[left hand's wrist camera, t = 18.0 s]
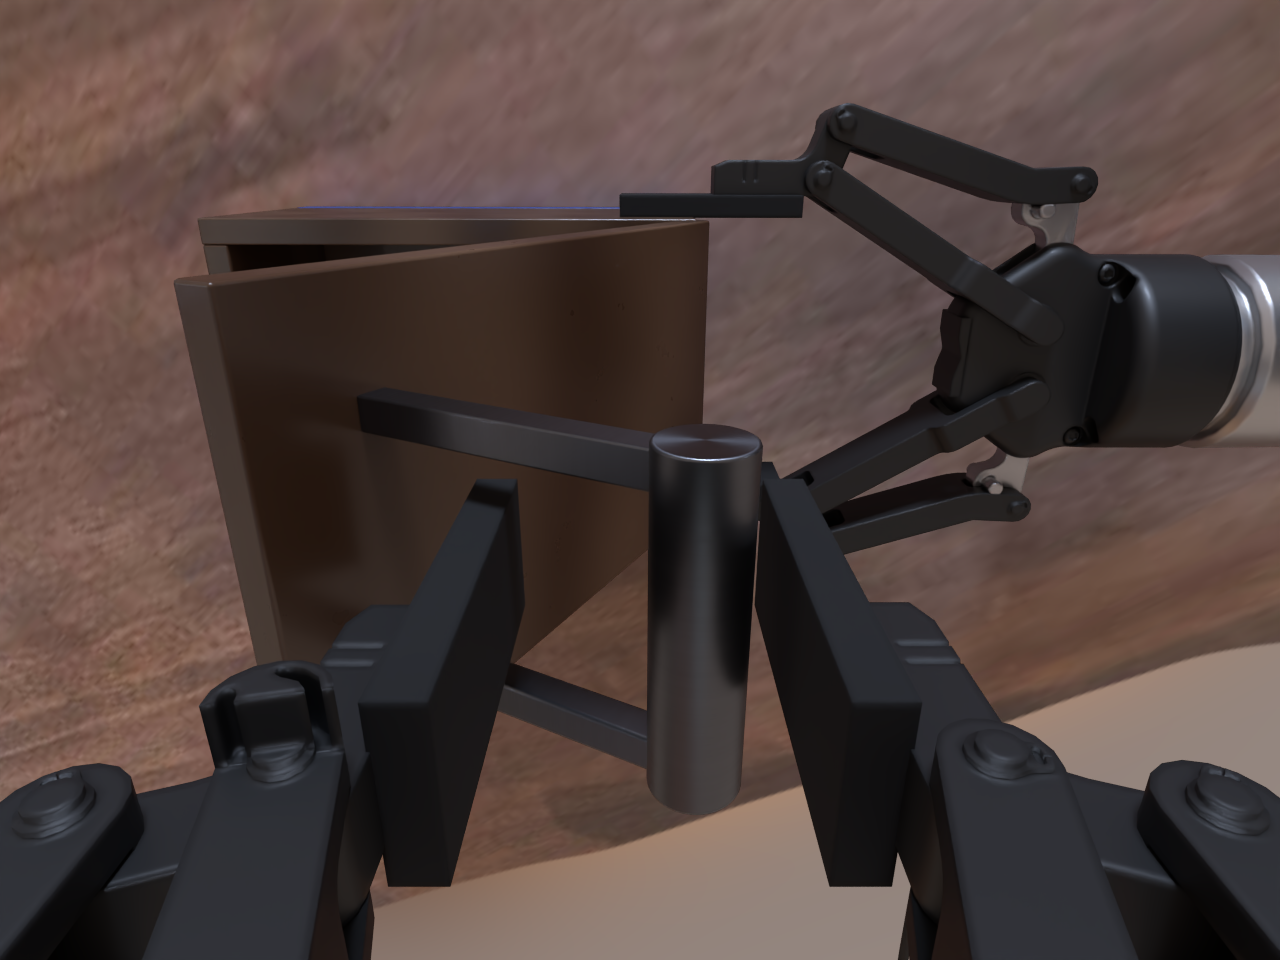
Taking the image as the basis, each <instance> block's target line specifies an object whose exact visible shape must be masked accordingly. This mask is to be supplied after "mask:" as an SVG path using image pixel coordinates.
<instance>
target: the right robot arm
mask: <svg viewBox="0 0 1280 960" xmlns="http://www.w3.org/2000/svg"><path fill="white" fill-rule="evenodd" d="M849 152H852V153H854V154H857V155H860V156H863V157H866V158H869V159H871V160H874V161H877V162H880V163H883V164H886V165H888V166H891V167H894V168H897V169H900V170H903V171H906V172H908V173H911V174H914V175H917V176H920V177H923V178H925V179H928V180H931V181H934V182H937V183H940V184H942V185H945V186H948V187H951V188H954V189H957V190H960V191H962V192H965V193H968V194H971V195H974V196H977V197H980V198H983V199H987V200H990V201H997V202H1006V203H1012V206H1011V215H1012V218H1013V220H1014V221H1015V222H1016V223H1018V224H1020V225H1024V226H1028V227H1029V228H1031V229H1032V231H1033V232H1034V235H1035V243H1034V244H1032V245H1030V246H1028V247H1027V248H1025V249H1024V250H1022V251H1021V252H1019V253H1018V254H1016V255H1015V256H1013V257H1012V258H1010V259H1009V260H1007V261H1006V262H1004V263H1003V264H1001V265H1000V266H998V267H997V268H995V269H994V270H991V269H990V268H988V267H987V266H985V265H984V264H982V263H980V262H978V261H976V260H974V259H972V258H971V257H969V256H967V255H966V254H964V253H963V252H962V251H960V250H959V249H957V248H956V247H954V246H953V245H951V244H950V243H949V242H947V241H946V240H944V239H943V238H941V237H940V236H938V235H937V234H936V233H934V232H933V231H931V230H930V229H928V228H927V227H925V226H924V225H923V224H921V223H920V222H918V221H917V220H915V219H914V218H912V217H911V216H910V215H908V214H907V213H905V212H904V211H902V210H901V209H899V208H898V207H896V206H895V205H894V204H892V203H891V202H889V201H888V200H886V199H885V198H883V197H882V196H881V195H879V194H878V193H876V192H875V191H873V190H872V189H870V188H869V187H868V186H866V185H865V184H863V183H862V182H860V181H859V180H857V179H856V178H855V177H853V176H852V175H850V174H849V173H847V172H846V171H844V170H843V166H844V164H845V162H846V159H847V157H848V155H849ZM1097 186H1098V177H1097V175H1096V172H1095V171H1094V170H1092V169H1091V168H1089V167H1044V168H1031V167H1028V166H1026V165H1023V164H1020V163H1017V162H1015V161H1012V160H1009V159H1006V158H1003V157H1001V156H998V155H995V154H992V153H989V152H987V151H984V150H981V149H978V148H976V147H973V146H970V145H967V144H964V143H962V142H959V141H956V140H953V139H950V138H948V137H945V136H942V135H939V134H937V133H934V132H931V131H928V130H925V129H923V128H920V127H917V126H914V125H912V124H909V123H906V122H903V121H900V120H898V119H895V118H892V117H889V116H886V115H884V114H881V113H878V112H875V111H873V110H870V109H867V108H864V107H861V106H859V105H856V104H851V103H846V104H843V105H839V106H836V107H833V108H831V109H828V110H826V111H824V112H823V113H822V114H821V115H820V116H819V118H818V119H817V121H816V126H815V132H814V134H813V137H812V139H811V142H810V144H809V146H808V148H807V150H806V151H805V152H804V154H803V155H801V156H800V157H799V158H797V159H794V160H727V161H723V162H721V163H719V164H716V165H714V166H712V167H711V193H622V194H620V217H693V218H802V212H803V198H804V196H806V197H808V198H809V199H811V200H812V201H813V202H815V203H816V204H818V205H819V206H821V207H822V208H824V209H825V210H827V211H828V212H830V213H831V214H833V215H834V216H836V217H837V218H839V219H840V220H842V221H843V222H845V223H846V224H848V225H849V226H850V227H852V228H853V229H855V230H856V231H858V232H859V233H861V234H862V235H864V236H865V237H867V238H868V239H870V240H871V241H873V242H874V243H876V244H877V245H879V246H880V247H882V248H883V249H885V250H886V251H887V252H889V253H890V254H892V255H893V256H895V257H896V258H898V259H899V260H901V261H902V262H904V263H905V264H907V265H908V266H910V267H911V268H913V269H914V270H916V271H917V272H919V273H920V274H922V275H923V276H924V277H926V278H927V279H928V280H929V281H930V282H932V283H933V284H934V285H936V286H937V287H939V288H940V289H942V290H943V291H945V292H946V293H948V294H949V295H951V296H952V297H954V299H953V301H952V302H951V304H950V306H949V308H948V309H943V311H942V318H941V325H940V332H941V340H942V350H941V352H940V355H939V357H938V359H937V362H936V364H935V367H934V374H933V381H932V385H934V386H935V387H936V388H937V390H936V391H934V392H932V393H931V394H929V395H927V396H925V397H923V398H921V399H919V400H918V401H916V402H914V403H913V404H912V405H911V407H910V409H909V410H908V411H907V412H905V413H903V414H901V415H900V416H898V417H896V418H894V419H892V420H890V421H888V422H887V423H885V424H883V425H881V426H879V427H877V428H875V429H874V430H872V431H870V432H868V433H866V434H864V435H862V436H861V437H859V438H857V439H855V440H853V441H851V442H849V443H847V444H846V445H844V446H842V447H840V448H838V449H836V450H834V451H833V452H831V453H829V454H827V455H825V456H823V457H821V458H820V459H818V460H816V461H814V462H812V463H810V464H808V465H807V466H805V467H803V468H801V469H799V470H797V471H795V472H794V473H792V474H790V475H788V476H786V477H784V478H782V479H803V480H804V482H805V484H806V485H807V487H808V489H809V491H810V493H811V495H812V497H813V499H814V500H815V502H816V504H817V506H818V508H819V510H820V512H821V513H822V515H823V517H824V519H825V521H826V523H827V525H828V527H829V528H830V530H831V532H832V534H833V536H834V538H835V540H836V542H837V543H838V545H839V547H840V549H841V551H842V553H843V555H844V554H848V553H852V552H855V551H859V550H863V549H867V548H870V547H874V546H878V545H881V544H885V543H889V542H893V541H896V540H900V539H904V538H907V537H911V536H915V535H919V534H922V533H926V532H930V531H934V530H937V529H941V528H945V527H948V526H952V525H956V524H960V523H963V522H967V521H971V520H987V521H1010V522H1014V521H1019V520H1021V519H1023V518H1025V517H1026V516H1027V515H1028V513H1029V511H1030V509H1031V503H1030V501H1029V499H1028V498H1026V497H1025V496H1024V495H1023V494H1022V493H1021V491H1022V487H1023V483H1024V478H1025V474H1026V470H1027V466H1028V462H1029V458H1030V457H1033V456H1036V455H1038V454H1040V453H1042V452H1044V451H1047V450H1049V449H1052V448H1056V447H1062V446H1069V447H1162V448H1165V447H1172V446H1176V445H1179V446H1184V447H1190V448H1242V447H1280V255H1208V256H1205V257H1202V258H1200V257H1198V256H1194V255H1186V254H1089V253H1087V252H1085V251H1083V250H1082V249H1080V248H1079V247H1077V246H1076V245H1073V241H1074V234H1075V228H1076V222H1077V215H1078V209H1079V203H1080V202H1084V201H1086V200H1088V199H1089V198H1091V196H1092V195H1093V194H1094V193H1095V191H1096V188H1097ZM983 436H984V437H985V438H986V439H988V440H989V441H990V442H992V443H993V444H994V445H995V446H997V450H996V452H995V454H994V455H993V456H992V457H991V458H990V459H988V460H986V461H982V462H977V463H971V464H969V465H968V467H967V473H951V474H945V475H940V476H936V477H932V478H928V479H925V480H921V481H918V482H914V483H910V484H907V485H903V486H900V487H896V488H892V489H889V490H885V491H881V492H878V493H874V494H871V495H867V496H863V497H860V498H856V499H853V500H850V499H852V498H853V497H855V496H857V495H859V494H861V493H863V492H865V491H867V490H869V489H871V488H873V487H875V486H876V485H878V484H880V483H882V482H884V481H886V480H888V479H890V478H892V477H894V476H896V475H898V474H899V473H901V472H903V471H905V470H907V469H909V468H911V467H913V466H915V465H917V464H919V463H921V462H922V461H924V460H926V459H928V458H930V457H932V456H934V455H936V454H938V453H942V452H945V453H949V452H953V451H956V450H958V449H960V448H962V447H964V446H966V445H968V444H970V443H972V442H974V441H976V440H978V439H979V438H981V437H983ZM763 479H780V478H779V476H778V474H777V472H776V469H775V467H774V465H773V463H772V462H762V466H761V481H760V496H759V512H758V521H760V513H761V498H762V482H763ZM848 500H849V501H848Z"/></svg>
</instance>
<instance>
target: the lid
mask: <svg viewBox="0 0 1280 960" xmlns="http://www.w3.org/2000/svg"><path fill="white" fill-rule="evenodd" d="M708 244H709V221H704V220H682V221H673V222H664V223H656V224H647V225H638V226H630V227H621V228H612V229H603V230H595V231H586V232H577V233H568V234H560V235H551V236H542V237H533V238H525V239H516V240H507V241H499V242H490V243H481V244H472V245H464V246H455V247H446V248H437V249H429V250H420V251H411V252H402V253H394V254H385V255H376V256H368V257H359V258H350V259H341V260H333V261H324V262H315V263H306V264H298V265H289V266H280V267H271V268H263V269H254V270H245V271H237V272H228V273H219V274H210V275H202V276H193V277H184V278H178V279H176V280H174V287H175V292H176V296H177V301H178V305H179V310H180V315H181V319H182V324H183V328H184V333H185V337H186V342H187V347H188V351H189V356H190V360H191V365H192V369H193V374H194V379H195V383H196V388H197V392H198V397H199V401H200V406H201V411H202V415H203V420H204V424H205V429H206V434H207V438H208V443H209V447H210V452H211V456H212V461H213V466H214V470H215V475H216V479H217V484H218V488H219V493H220V498H221V502H222V507H223V511H224V516H225V520H226V525H227V530H228V534H229V539H230V543H231V548H232V552H233V557H234V562H235V566H236V571H237V575H238V580H239V585H240V589H241V594H242V598H243V603H244V607H245V612H246V617H247V621H248V626H249V630H250V635H251V639H252V644H253V649H254V653H255V658H256V662H257V666H258V665H263V664H267V663H272V662H276V661H292V660H303V661H307V662H311V663H315V664H319V665H320V662H321V660H322V659H323V657H324V656H325V654H326V652H327V651H328V649H331V648H332V643H333V642H334V640H335V639H336V637H337V636H338V634H339V633H340V631H341V630H342V628H343V627H344V625H345V623H347V622H348V621H349V620H351V619H352V618H353V617H355V616H356V615H358V614H359V613H360V612H362V611H363V610H365V609H366V608H367V607H369V606H370V605H410V603H411V601H412V600H413V598H414V596H415V594H416V592H417V590H418V588H419V586H420V585H421V583H422V581H423V579H424V577H425V575H426V573H427V571H428V570H429V568H430V566H431V564H432V562H433V560H434V558H435V557H436V555H437V553H438V551H439V549H440V547H441V545H442V543H443V542H444V540H445V538H446V536H447V534H448V532H449V530H450V528H451V527H452V525H453V523H454V521H455V519H456V517H457V515H458V513H459V512H460V510H461V508H462V506H463V504H464V502H465V500H466V499H467V497H468V495H469V493H470V491H471V489H472V487H473V485H474V484H475V482H476V480H477V479H517V482H518V498H519V513H520V529H521V545H522V560H523V576H524V592H525V608H524V612H523V616H522V619H521V623H520V627H519V631H518V634H517V638H516V642H515V646H514V649H513V653H512V657H511V661H510V664H509V668H508V672H507V676H506V680H505V683H504V687H503V691H502V695H501V698H500V702H499V706H498V710H497V711H499V712H502V713H504V714H507V715H510V716H512V717H515V718H517V719H520V720H522V721H525V722H527V723H530V724H533V725H535V726H538V727H540V728H543V729H545V730H548V731H550V732H553V733H556V734H558V735H561V736H563V737H566V738H568V739H571V740H573V741H576V742H579V743H581V744H584V745H586V746H589V747H591V748H594V749H596V750H599V751H602V752H604V753H607V754H609V755H612V756H614V757H617V758H619V759H622V760H625V761H627V762H630V763H632V764H635V765H637V766H640V767H642V768H645V769H647V783H648V787H649V789H650V791H651V793H652V794H653V795H654V797H655V798H656V799H657V800H658V801H659V802H660V803H661V804H663V805H664V806H666V807H667V808H669V809H671V810H674V811H676V812H679V813H684V814H690V815H704V814H710V813H713V812H717V811H719V810H721V809H723V808H725V807H726V806H728V805H729V804H730V803H731V802H732V801H733V800H734V799H735V797H736V796H737V794H738V792H739V790H740V786H741V772H742V757H743V741H744V726H745V711H746V695H747V680H748V665H749V649H750V634H751V619H752V603H753V588H754V573H755V558H756V542H757V527H758V512H759V496H760V481H761V466H762V450H763V445H762V442H761V440H760V439H759V438H758V437H757V436H756V435H754V434H752V433H750V432H748V431H745V430H742V429H738V428H734V427H730V426H724V425H715V424H702V421H703V392H704V362H705V333H706V303H707V274H708ZM646 550H648V653H647V711H646V710H644V709H641V708H638V707H635V706H632V705H629V704H627V703H624V702H621V701H618V700H615V699H612V698H610V697H607V696H604V695H601V694H598V693H595V692H593V691H590V690H587V689H584V688H581V687H578V686H576V685H573V684H570V683H567V682H564V681H561V680H559V679H556V678H553V677H550V676H547V675H544V674H542V673H539V672H536V671H533V670H530V669H528V668H525V667H522V666H519V665H516V664H514V663H515V662H516V661H517V660H519V659H520V658H521V657H522V656H523V655H524V654H526V653H527V652H528V651H529V650H530V649H531V648H533V647H534V646H535V645H536V644H537V643H539V642H540V641H541V640H542V639H543V638H544V637H546V636H547V635H548V634H549V633H550V632H551V631H553V630H554V629H555V628H556V627H557V626H558V625H560V624H561V623H562V622H563V621H564V620H566V619H567V618H568V617H569V616H570V615H571V614H573V613H574V612H575V611H576V610H577V609H578V608H580V607H581V606H582V605H583V604H584V603H585V602H587V601H588V600H589V599H590V598H591V597H592V596H594V595H595V594H596V593H597V592H598V591H600V590H601V589H602V588H603V587H604V586H605V585H607V584H608V583H609V582H610V581H611V580H612V579H614V578H615V577H616V576H617V575H618V574H619V573H621V572H622V571H623V570H624V569H625V568H626V567H628V566H629V565H630V564H631V563H632V562H634V561H635V560H636V559H637V558H638V557H639V556H641V555H642V554H643V553H644V552H645V551H646Z"/></svg>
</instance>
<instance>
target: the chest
mask: <svg viewBox="0 0 1280 960" xmlns="http://www.w3.org/2000/svg"><path fill="white" fill-rule="evenodd" d="M682 220H696V219H695V218H693V217H620V207H298V208H292V209H282V210H273V211H263V212H253V213H243V214H234V215H224V216H214V217H204V218H198V225H199V230H200V234H201V239H202V244H204V252H205V257H206V262H207V267H208V272H209V275H210V274H219V273H228V272H237V271H245V270H254V269H263V268H271V267H280V266H289V265H298V264H306V263H315V262H324V261H333V260H341V259H350V258H359V257H368V256H376V255H385V254H394V253H402V252H411V251H420V250H429V249H437V248H446V247H455V246H464V245H472V244H481V243H490V242H499V241H507V240H516V239H525V238H533V237H542V236H551V235H560V234H568V233H577V232H586V231H595V230H603V229H612V228H621V227H630V226H638V225H647V224H656V223H664V222H673V221H682Z"/></svg>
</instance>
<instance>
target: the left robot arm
mask: <svg viewBox="0 0 1280 960" xmlns="http://www.w3.org/2000/svg"><path fill="white" fill-rule="evenodd" d="M524 608H525V592H524V576H523V560H522V545H521V529H520V513H519V498H518V482H517V479H477V480H476V482H475V484H474V485H473V487H472V489H471V491H470V493H469V495H468V497H467V499H466V500H465V502H464V504H463V506H462V508H461V510H460V512H459V513H458V515H457V517H456V519H455V521H454V523H453V525H452V527H451V528H450V530H449V532H448V534H447V536H446V538H445V540H444V542H443V543H442V545H441V547H440V549H439V551H438V553H437V555H436V557H435V558H434V560H433V562H432V564H431V566H430V568H429V570H428V571H427V573H426V575H425V577H424V579H423V581H422V583H421V585H420V586H419V588H418V590H417V592H416V594H415V596H414V598H413V600H412V601H411V603H410V605H370V606H369V607H367V608H366V609H365V610H363V611H362V612H360V613H359V614H358V615H356V616H355V617H353V618H352V619H351V620H349V621H348V622H347V623H345V625H344V627H343V628H342V630H341V631H340V633H339V634H338V636H337V637H336V639H335V640H334V642H333V643H332V648H331V649H328V651H327V652H326V654H325V656H324V657H323V659H322V660H321V662H320V665H319V664H315V663H311V662H307V661H303V660H292V661H276V662H272V663H267V664H263V665H258V666H254V667H252V668H249V669H247V670H245V671H242V672H240V673H238V674H235V675H233V676H231V677H229V678H228V679H226V680H225V681H224V682H222V683H221V684H219V685H218V686H216V687H215V688H214V689H212V690H211V691H210V692H209V693H208V695H207V696H206V697H205V699H204V700H203V701H202V703H201V704H200V705H199V708H200V712H201V715H202V719H203V723H204V727H205V731H206V735H207V739H208V742H209V746H210V750H211V754H212V758H213V762H214V765H215V770H214V773H213V776H210V777H207V778H203V779H200V780H196V781H193V782H189V783H184V784H180V785H175V786H171V787H166V788H162V789H158V790H153V791H149V792H144V793H140V794H136V792H135V789H134V786H133V782H132V779H131V776H130V775H128V774H127V773H126V772H125V771H124V770H123V769H121V768H120V767H119V766H113V765H107V764H101V763H97V764H89V765H80V766H73V767H70V768H66V769H63V770H60V771H57V772H54V773H51V774H48V775H45V776H43V777H41V778H39V779H37V780H35V781H33V782H31V783H29V784H27V785H25V786H23V787H21V788H20V789H18V790H16V791H14V792H13V793H12V794H10V795H9V796H8V797H7V798H5V799H4V800H3V801H1V802H0V960H371V950H372V940H373V929H374V911H373V905H372V899H371V893H370V886H371V884H372V881H373V878H374V876H375V873H376V870H377V868H378V865H379V863H380V860H381V857H382V855H383V859H384V865H385V871H386V877H387V883H388V887H450V886H451V882H452V879H453V875H454V871H455V867H456V864H457V860H458V856H459V852H460V849H461V845H462V841H463V837H464V834H465V830H466V826H467V822H468V819H469V815H470V811H471V807H472V804H473V800H474V796H475V792H476V789H477V785H478V781H479V777H480V773H481V770H482V766H483V762H484V758H485V755H486V751H487V747H488V743H489V740H490V736H491V732H492V728H493V725H494V721H495V717H496V713H497V710H498V706H499V702H500V698H501V695H502V691H503V687H504V683H505V680H506V676H507V672H508V668H509V664H510V661H511V657H512V653H513V649H514V646H515V642H516V638H517V634H518V631H519V627H520V623H521V619H522V616H523V612H524ZM755 608H756V612H757V616H758V619H759V623H760V627H761V631H762V634H763V638H764V642H765V646H766V649H767V653H768V657H769V661H770V664H771V668H772V672H773V676H774V680H775V683H776V687H777V691H778V695H779V698H780V702H781V706H782V710H783V713H784V717H785V721H786V725H787V728H788V732H789V736H790V740H791V743H792V747H793V751H794V755H795V758H796V762H797V766H798V770H799V773H800V777H801V781H802V785H803V789H804V792H805V796H806V800H807V804H808V807H809V811H810V815H811V819H812V822H813V826H814V830H815V834H816V837H817V841H818V845H819V849H820V852H821V856H822V860H823V864H824V867H825V871H826V875H827V879H828V882H829V886H830V887H892V883H893V877H894V871H895V864H896V859H897V853H899V856H900V859H901V861H902V864H903V867H904V869H905V872H906V875H907V877H908V880H909V882H910V885H911V888H910V893H909V899H908V904H907V910H906V916H905V921H904V927H903V933H902V938H901V944H900V950H899V956H898V960H908V959H910V960H1280V798H1279V797H1278V796H1276V795H1275V794H1274V793H1273V792H1271V791H1270V790H1269V789H1267V788H1266V787H1264V786H1262V785H1260V784H1258V783H1256V782H1254V781H1253V780H1251V779H1249V778H1247V777H1245V776H1243V775H1241V774H1239V773H1237V772H1234V771H1231V770H1228V769H1225V768H1221V767H1218V766H1215V765H1212V764H1209V763H1202V762H1194V761H1186V760H1179V761H1174V762H1167V763H1162V764H1161V765H1159V766H1158V767H1157V768H1156V769H1155V770H1153V771H1152V772H1151V773H1150V776H1149V779H1148V782H1147V786H1146V789H1145V791H1141V790H1137V789H1132V788H1128V787H1123V786H1119V785H1114V784H1110V783H1105V782H1101V781H1096V780H1092V779H1088V778H1084V777H1081V776H1078V775H1074V774H1071V773H1068V772H1066V769H1065V767H1064V765H1063V764H1062V762H1061V761H1060V759H1059V758H1058V756H1057V755H1056V753H1055V752H1054V751H1053V750H1052V749H1051V748H1050V747H1048V746H1047V745H1046V744H1045V743H1043V742H1042V741H1041V740H1040V739H1038V738H1037V737H1036V736H1034V735H1032V734H1030V733H1028V732H1026V731H1024V730H1022V729H1020V728H1018V727H1016V726H1013V725H1010V724H1006V723H1002V722H1001V721H1000V719H999V717H998V716H997V714H996V713H995V711H994V710H993V708H992V707H991V705H990V704H989V702H988V701H987V699H986V698H985V696H984V695H983V693H982V692H981V690H980V689H979V687H978V686H977V684H976V683H975V681H974V680H973V678H972V677H971V675H970V674H969V672H968V670H967V669H966V667H965V666H964V664H961V663H960V658H959V657H958V655H957V654H956V652H955V651H954V649H953V648H952V646H949V642H948V640H947V639H946V637H945V636H944V634H943V633H942V631H941V630H940V628H939V626H938V625H937V623H936V622H935V621H934V620H933V619H932V618H930V617H929V616H927V615H926V614H925V613H923V612H922V611H920V610H919V609H918V608H916V607H915V606H913V605H912V604H911V603H909V602H869V601H868V600H867V598H866V596H865V594H864V592H863V590H862V588H861V586H860V585H859V583H858V581H857V579H856V577H855V575H854V573H853V571H852V570H851V568H850V566H849V564H848V562H847V560H846V558H845V557H844V555H843V553H842V551H841V549H840V547H839V545H838V543H837V542H836V540H835V538H834V536H833V534H832V532H831V530H830V528H829V527H828V525H827V523H826V521H825V519H824V517H823V515H822V513H821V512H820V510H819V508H818V506H817V504H816V502H815V500H814V499H813V497H812V495H811V493H810V491H809V489H808V487H807V485H806V484H805V482H804V480H803V479H763V482H762V498H761V513H760V529H759V545H758V560H757V576H756V592H755Z"/></svg>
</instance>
